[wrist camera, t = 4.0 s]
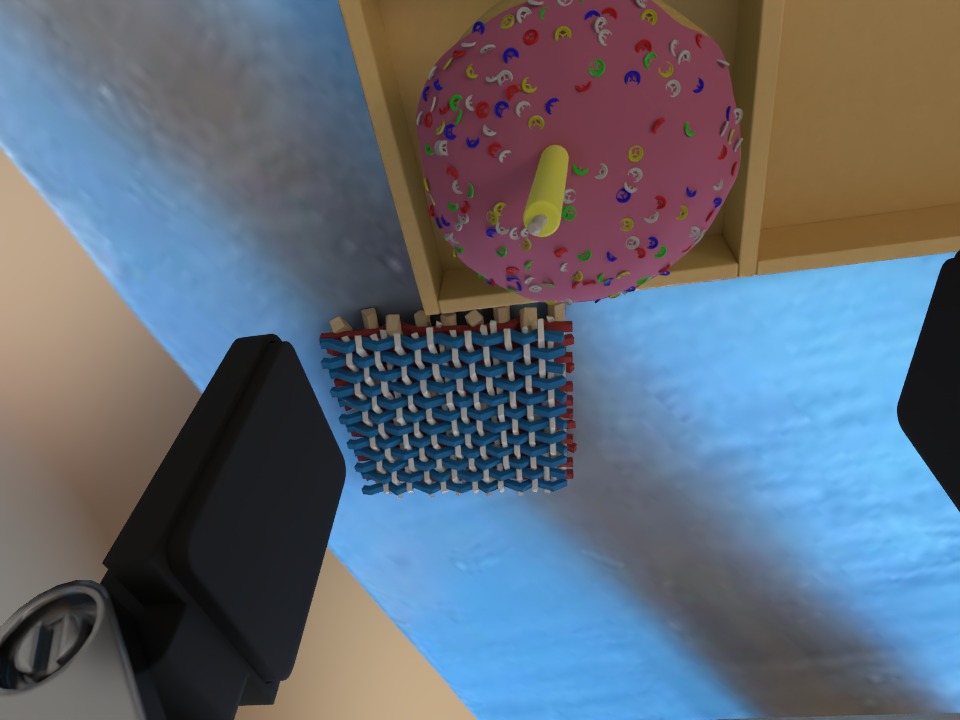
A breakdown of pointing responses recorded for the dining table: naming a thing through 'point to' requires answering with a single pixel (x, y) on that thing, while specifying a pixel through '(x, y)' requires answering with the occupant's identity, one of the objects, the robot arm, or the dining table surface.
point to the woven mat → (456, 400)
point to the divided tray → (764, 128)
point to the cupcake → (578, 144)
